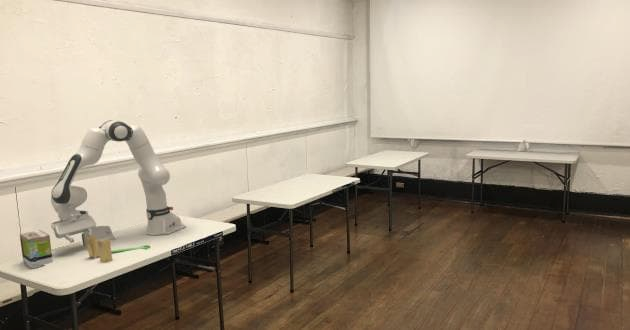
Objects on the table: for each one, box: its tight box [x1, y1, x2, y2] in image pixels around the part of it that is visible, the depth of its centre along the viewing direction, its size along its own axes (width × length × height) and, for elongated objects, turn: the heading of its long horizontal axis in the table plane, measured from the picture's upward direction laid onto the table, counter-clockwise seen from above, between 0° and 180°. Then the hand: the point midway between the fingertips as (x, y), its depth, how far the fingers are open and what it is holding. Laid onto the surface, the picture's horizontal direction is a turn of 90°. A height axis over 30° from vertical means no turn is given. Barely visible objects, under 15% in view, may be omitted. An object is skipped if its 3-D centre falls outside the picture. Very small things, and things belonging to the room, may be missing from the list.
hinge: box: [81, 225, 116, 247], centre depth 279 cm, size 17×5×10 cm, turn 142°
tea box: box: [19, 229, 54, 269], centre depth 249 cm, size 15×10×15 cm
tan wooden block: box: [98, 239, 113, 263], centre depth 245 cm, size 4×4×10 cm
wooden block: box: [84, 236, 100, 259], centre depth 251 cm, size 4×4×10 cm
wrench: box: [111, 244, 151, 254], centre depth 260 cm, size 25×2×5 cm
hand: (81, 239), depth 259 cm, fingers open, 8 cm apart
